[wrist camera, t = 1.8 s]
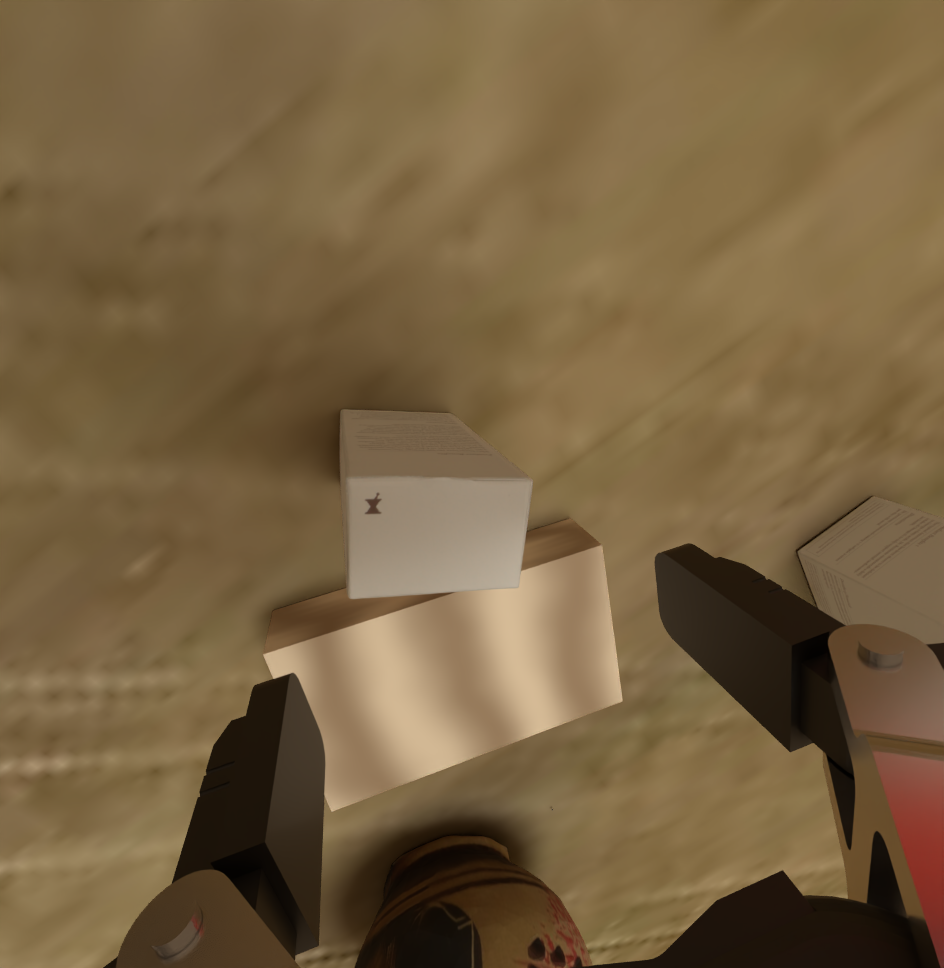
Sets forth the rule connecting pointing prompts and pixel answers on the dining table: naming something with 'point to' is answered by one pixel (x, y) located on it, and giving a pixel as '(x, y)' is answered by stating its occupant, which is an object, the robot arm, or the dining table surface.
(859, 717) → the robot arm
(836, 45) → the dining table surface
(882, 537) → the supplement box
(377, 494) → the skincare box
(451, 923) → the ceramic jug
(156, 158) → the dining table surface
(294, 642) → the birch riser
